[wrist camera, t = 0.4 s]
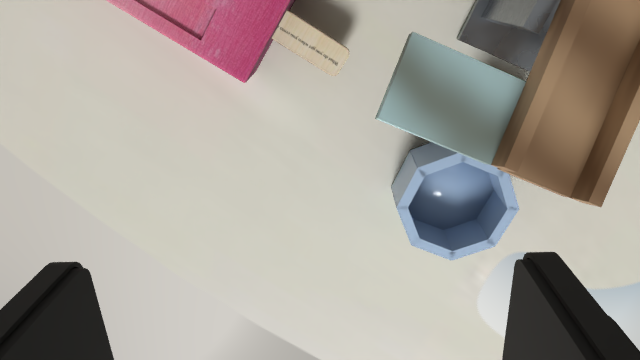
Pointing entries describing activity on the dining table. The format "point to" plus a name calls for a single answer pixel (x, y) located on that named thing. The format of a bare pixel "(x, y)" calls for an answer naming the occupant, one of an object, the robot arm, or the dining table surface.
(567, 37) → the lever
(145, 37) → the dining table surface
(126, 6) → the popsicle
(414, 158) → the cup
